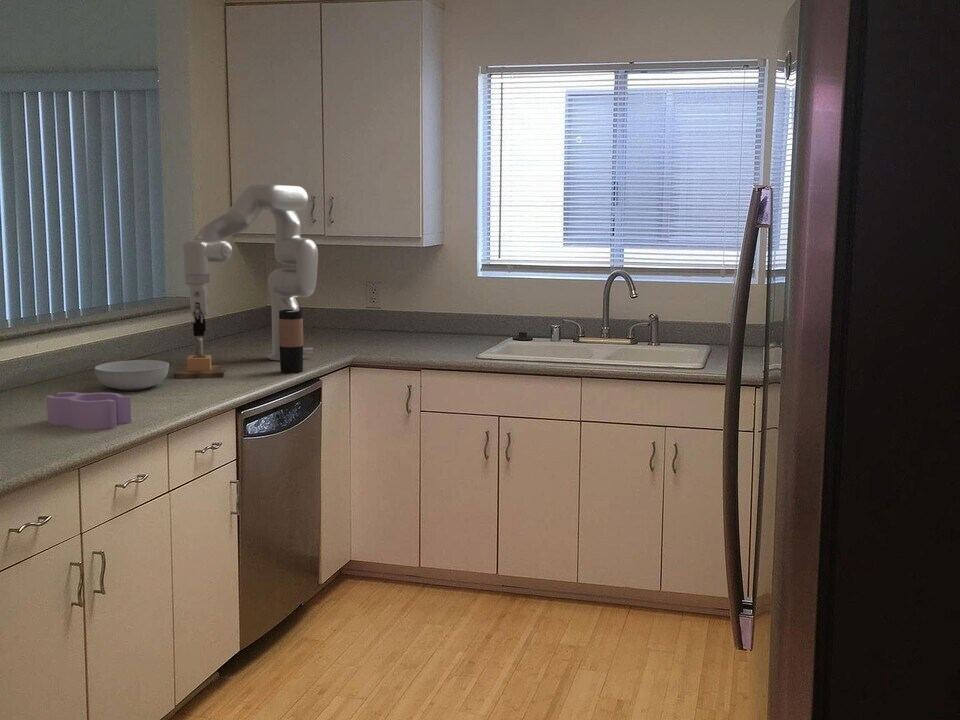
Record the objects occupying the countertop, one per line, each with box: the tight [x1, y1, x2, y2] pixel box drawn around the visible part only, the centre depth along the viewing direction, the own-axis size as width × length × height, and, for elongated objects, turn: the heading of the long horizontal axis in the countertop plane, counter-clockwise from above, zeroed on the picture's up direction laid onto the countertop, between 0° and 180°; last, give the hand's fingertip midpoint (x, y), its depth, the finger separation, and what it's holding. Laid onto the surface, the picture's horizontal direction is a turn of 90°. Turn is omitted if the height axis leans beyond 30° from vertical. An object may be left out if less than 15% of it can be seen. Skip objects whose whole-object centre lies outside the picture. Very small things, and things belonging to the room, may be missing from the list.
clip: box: [46, 391, 132, 430], centre depth 262 cm, size 20×12×7 cm, turn 76°
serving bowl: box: [94, 359, 170, 391], centre depth 311 cm, size 21×21×7 cm
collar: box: [186, 354, 212, 371], centre depth 336 cm, size 7×7×4 cm
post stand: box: [173, 337, 226, 379], centre depth 335 cm, size 15×15×12 cm
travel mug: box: [279, 309, 304, 374], centre depth 341 cm, size 8×8×20 cm
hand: (199, 333), depth 335 cm, fingers open, 9 cm apart
